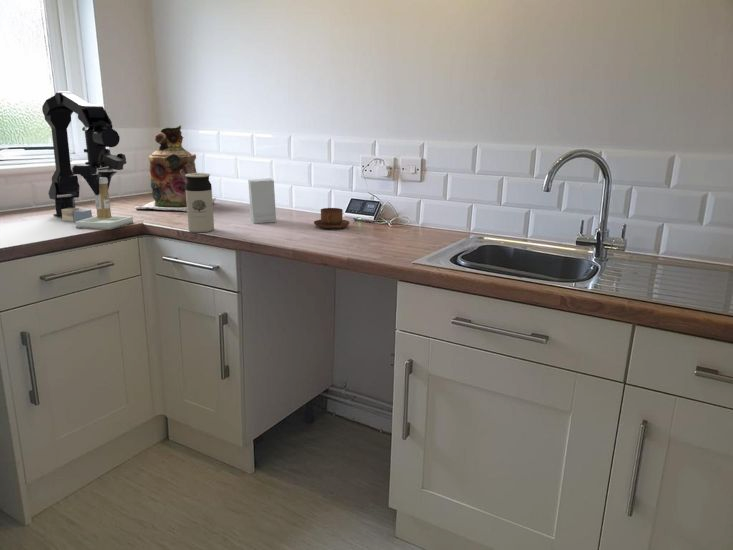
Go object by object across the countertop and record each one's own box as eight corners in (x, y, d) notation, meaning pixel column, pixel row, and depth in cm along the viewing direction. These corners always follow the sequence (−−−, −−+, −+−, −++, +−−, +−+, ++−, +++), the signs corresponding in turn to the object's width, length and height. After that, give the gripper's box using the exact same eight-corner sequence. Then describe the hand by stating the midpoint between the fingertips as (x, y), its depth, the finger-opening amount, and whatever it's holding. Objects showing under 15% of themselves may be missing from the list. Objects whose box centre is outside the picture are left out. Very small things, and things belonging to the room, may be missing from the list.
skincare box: (273, 219, 203) (271, 178, 199) (276, 222, 198) (275, 179, 193) (249, 221, 200) (247, 178, 196) (252, 224, 195) (250, 180, 191)
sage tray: (100, 220, 197) (99, 215, 196) (133, 222, 195) (132, 216, 194) (76, 227, 185) (75, 221, 184) (111, 229, 183) (110, 223, 182)
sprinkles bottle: (112, 218, 189) (108, 177, 185) (98, 219, 186) (93, 178, 183) (110, 216, 192) (105, 176, 189) (95, 217, 190) (91, 177, 186)
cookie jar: (163, 201, 242) (156, 124, 234) (218, 203, 239) (213, 125, 230) (132, 210, 219) (123, 125, 210) (192, 212, 216) (186, 126, 207)
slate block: (82, 220, 198) (80, 209, 197) (92, 221, 197) (91, 209, 196) (74, 222, 194) (73, 211, 193) (85, 223, 193) (83, 211, 192)
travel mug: (193, 227, 187) (189, 172, 182) (217, 228, 187) (213, 173, 182) (185, 232, 179) (180, 175, 174) (210, 233, 179) (206, 175, 174)
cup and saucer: (351, 230, 186) (351, 212, 185) (315, 231, 184) (315, 212, 183) (347, 224, 198) (347, 206, 196) (312, 224, 196) (312, 207, 194)
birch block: (70, 218, 201) (69, 207, 199) (80, 219, 200) (79, 208, 199) (62, 220, 197) (61, 209, 196) (73, 221, 196) (71, 209, 195)
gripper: (100, 148, 173) (106, 199, 177) (135, 144, 190) (139, 191, 195) (68, 147, 174) (74, 197, 179) (105, 144, 192) (110, 190, 196)
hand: (101, 194), depth 187 cm, fingers closed on sprinkles bottle, 4 cm apart
